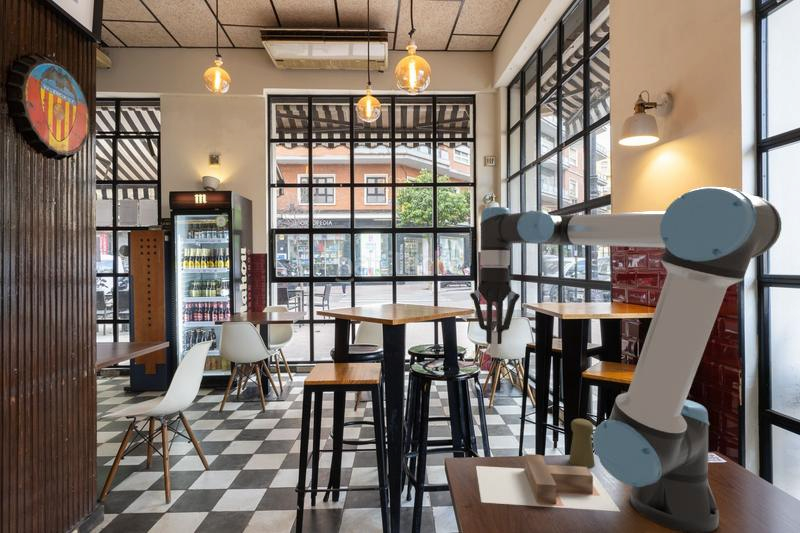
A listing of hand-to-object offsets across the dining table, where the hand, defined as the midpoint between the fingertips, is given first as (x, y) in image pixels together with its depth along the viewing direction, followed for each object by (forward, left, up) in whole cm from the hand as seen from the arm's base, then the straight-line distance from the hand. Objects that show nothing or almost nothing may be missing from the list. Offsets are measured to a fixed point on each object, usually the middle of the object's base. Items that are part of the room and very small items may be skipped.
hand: (493, 356), depth 109 cm
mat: (-9, +14, -26) cm, 31 cm away
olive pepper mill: (-22, +1, -27) cm, 35 cm away
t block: (-12, +14, -26) cm, 32 cm away
